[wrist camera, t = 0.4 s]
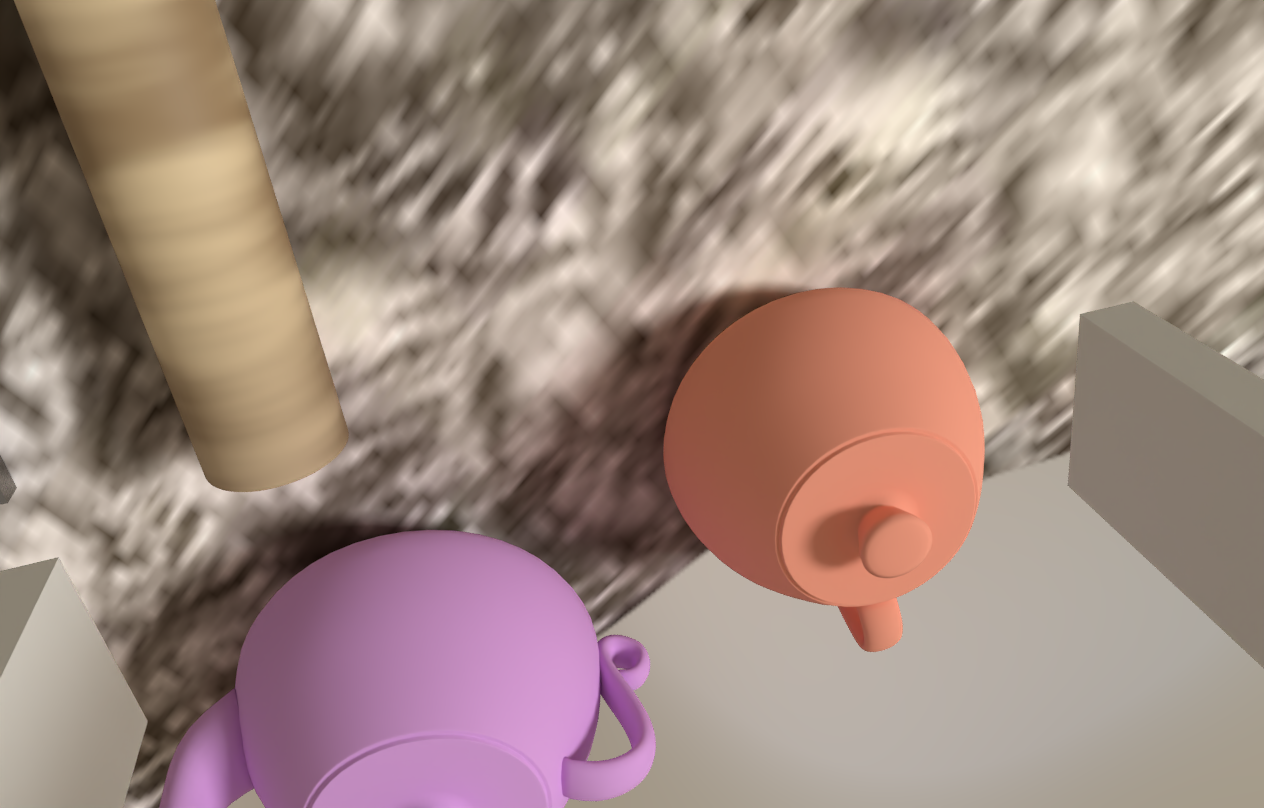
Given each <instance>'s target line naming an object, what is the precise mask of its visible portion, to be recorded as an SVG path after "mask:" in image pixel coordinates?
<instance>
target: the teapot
mask: <svg viewBox="0 0 1264 808" xmlns="http://www.w3.org/2000/svg"><path fill="white" fill-rule="evenodd" d="M617 668H623V669H625V670H618V669H617ZM649 671H650V659H649V656H648V653H647V651H646V649H645V648H644V646H643V645H642V644H641V643H640V642H638V641H636V640H634V639H632V638H629V637H626V636H622V635H609V636H606V637H603V638H602V639H600V640H599V641H598V642H597V638H596V634H595V630H594V627H593V624H592V620H591V618H590V616H589V614H588V612H587V610H586V608H585V606H584V604H583V602H582V601H581V599H580V598H579V597H578V595H577V594H576V593H575V591H574V590H573V588H572V587H571V586H570V585H569V584H568V583H567V582H566V581H565V580H564V579H563V578H562V577H561V576H560V575H559V574H558V573H557V572H556V571H555V570H554V569H552V568H551V567H550V566H548V565H547V564H546V563H544V562H543V561H542V560H540V559H539V558H537V557H536V556H534V555H532V554H530V553H528V552H527V551H525V550H523V549H521V548H519V547H517V546H514V545H512V544H509V543H507V542H504V541H502V540H498V539H495V538H491V537H487V536H483V535H480V534H474V533H467V532H460V531H448V530H421V531H406V532H400V533H394V534H388V535H382V536H378V537H374V538H371V539H367V540H364V541H360V542H357V543H354V544H351V545H349V546H346V547H344V548H341V549H339V550H337V551H334V552H332V553H330V554H328V555H326V556H324V557H323V558H321V559H319V560H317V561H315V562H314V563H312V564H310V565H309V566H307V567H306V568H305V569H303V570H302V571H301V572H299V573H298V574H296V575H295V576H294V577H292V578H291V579H290V580H289V581H288V582H287V583H286V584H285V585H284V586H283V587H282V588H281V589H279V590H278V591H277V592H276V594H275V595H274V596H273V597H272V598H271V600H270V601H269V602H268V603H267V604H266V606H265V607H264V608H263V609H262V611H261V612H260V613H259V614H258V616H257V618H256V619H255V621H254V623H253V624H252V626H251V628H250V630H249V631H248V634H247V636H246V639H245V641H244V644H243V646H242V649H241V653H240V658H239V663H238V667H237V674H236V682H235V688H234V689H232V690H231V691H230V692H229V693H227V694H226V695H225V696H224V697H223V698H221V699H220V700H219V701H218V702H216V703H215V704H214V705H213V706H211V707H210V708H209V709H208V710H206V711H205V712H204V713H203V714H202V715H201V716H200V717H199V718H198V720H197V721H196V722H195V723H194V724H193V725H192V726H191V727H190V728H189V729H188V730H187V732H186V734H185V735H184V737H183V738H182V740H181V741H180V743H179V744H178V746H177V748H176V751H175V753H174V755H173V758H172V760H171V763H170V766H169V769H168V773H167V777H166V781H165V785H164V789H163V793H162V798H161V803H160V807H159V808H227V807H228V806H229V805H230V804H231V803H232V802H234V801H235V800H237V799H238V798H240V797H241V796H242V795H243V794H245V793H247V792H249V791H250V790H252V789H254V788H255V791H256V793H257V795H258V796H259V798H260V800H261V801H262V803H263V805H264V806H265V808H564V807H565V805H566V803H567V801H568V799H569V798H570V799H576V800H582V801H601V800H607V799H610V798H614V797H617V796H620V795H622V794H624V793H626V792H628V791H630V790H631V789H633V788H635V787H636V786H637V785H638V784H639V783H640V782H641V781H642V780H643V779H644V778H645V777H646V775H647V773H648V772H649V770H650V768H651V766H652V763H653V760H654V757H655V748H656V742H655V734H654V729H653V726H652V723H651V720H650V719H649V716H648V714H647V712H646V710H645V709H644V707H643V705H642V703H641V702H640V700H639V699H638V697H637V696H636V694H635V693H634V691H633V690H635V689H637V688H639V687H641V686H642V685H643V683H644V682H645V680H646V679H647V677H648V674H649ZM600 694H601V695H602V697H603V698H604V700H605V701H606V703H607V704H608V706H609V707H610V709H611V710H612V712H613V713H614V714H615V716H616V717H617V719H618V720H619V722H620V723H621V725H622V727H623V728H624V730H625V732H626V734H627V736H628V738H629V740H630V743H631V746H632V749H631V750H629V751H628V752H627V753H625V754H623V755H622V756H619V757H616V758H613V759H609V760H603V761H587V759H588V756H589V754H590V750H591V747H592V743H593V739H594V735H595V731H596V727H597V722H598V716H599V707H600Z"/></svg>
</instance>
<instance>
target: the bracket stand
mask: <svg viewBox="0 0 1264 808" xmlns="http://www.w3.org/2000/svg"><path fill="white" fill-rule="evenodd" d="M16 488H17V487H16V485H15V483H14V481H13V479H12V478H11V476H10V474H9V472H8V470H7V468H6V466H5V464H4V462H3V460H2V458H1V456H0V504H5V503H8V502H9V500H10V498H11V497H12V495H13V493H14V492H15V490H16Z"/></svg>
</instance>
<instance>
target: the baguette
mask: <svg viewBox="0 0 1264 808" xmlns="http://www.w3.org/2000/svg"><path fill="white" fill-rule="evenodd" d="M14 2H15V5H16V7H17V10H18V12H19V15H20V17H21V20H22V22H23V25H24V27H25V29H26V32H27V34H28V37H29V39H30V42H31V44H32V47H33V49H34V52H35V54H36V57H37V59H38V62H39V64H40V67H41V69H42V72H43V74H44V77H45V79H46V82H47V84H48V87H49V89H50V92H51V94H52V97H53V99H54V102H55V104H56V107H57V109H58V112H59V114H60V117H61V119H62V122H63V124H64V127H65V129H66V132H67V134H68V136H69V139H70V141H71V144H72V146H73V149H74V151H75V154H76V156H77V159H78V161H79V164H80V166H81V169H82V171H83V174H84V176H85V179H86V181H87V184H88V186H89V189H90V191H91V194H92V196H93V199H94V201H95V204H96V206H97V209H98V211H99V214H100V216H101V219H102V221H103V224H104V226H105V229H106V231H107V234H108V236H109V238H110V241H111V243H112V246H113V248H114V251H115V253H116V256H117V258H118V261H119V263H120V266H121V268H122V271H123V273H124V276H125V278H126V281H127V283H128V286H129V288H130V291H131V293H132V296H133V298H134V301H135V303H136V306H137V308H138V311H139V313H140V316H141V318H142V321H143V323H144V326H145V328H146V331H147V333H148V336H149V338H150V341H151V343H152V345H153V348H154V350H155V353H156V355H157V358H158V360H159V363H160V365H161V368H162V370H163V373H164V375H165V378H166V380H167V383H168V385H169V388H170V390H171V393H172V395H173V398H174V400H175V403H176V405H177V408H178V410H179V413H180V415H181V418H182V420H183V423H184V425H185V428H186V430H187V433H188V435H189V438H190V440H191V443H192V445H193V447H194V450H195V452H196V455H197V457H198V460H199V462H200V465H201V467H202V470H203V472H204V475H205V477H206V479H207V481H208V482H209V483H210V484H211V485H213V486H215V487H217V488H219V489H222V490H226V491H233V492H253V491H261V490H267V489H272V488H276V487H280V486H283V485H286V484H289V483H292V482H295V481H298V480H300V479H302V478H304V477H307V476H309V475H311V474H313V473H315V472H316V471H318V470H320V469H321V468H323V467H324V466H326V465H327V464H328V463H330V462H331V461H332V460H333V459H335V458H336V457H337V456H338V455H339V454H340V452H341V451H342V450H343V448H344V447H345V445H346V443H347V441H348V437H349V432H348V429H347V425H346V422H345V419H344V416H343V412H342V409H341V406H340V403H339V399H338V396H337V393H336V390H335V387H334V383H333V380H332V377H331V374H330V370H329V367H328V364H327V361H326V357H325V354H324V351H323V348H322V345H321V341H320V338H319V335H318V332H317V328H316V325H315V322H314V319H313V315H312V312H311V309H310V306H309V303H308V299H307V296H306V293H305V290H304V286H303V283H302V280H301V277H300V274H299V270H298V267H297V264H296V261H295V257H294V254H293V251H292V248H291V244H290V241H289V238H288V235H287V232H286V228H285V225H284V222H283V219H282V215H281V212H280V209H279V206H278V202H277V199H276V196H275V193H274V190H273V186H272V183H271V180H270V177H269V173H268V170H267V167H266V164H265V160H264V157H263V154H262V151H261V148H260V144H259V141H258V138H257V135H256V131H255V128H254V125H253V122H252V119H251V115H250V112H249V109H248V106H247V102H246V99H245V96H244V93H243V89H242V86H241V83H240V80H239V77H238V73H237V70H236V67H235V64H234V60H233V57H232V54H231V51H230V47H229V44H228V41H227V38H226V35H225V31H224V28H223V25H222V22H221V18H220V15H219V12H218V9H217V5H216V2H215V0H14Z"/></svg>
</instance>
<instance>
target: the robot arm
mask: <svg viewBox="0 0 1264 808" xmlns="http://www.w3.org/2000/svg"><path fill="white" fill-rule="evenodd" d="M1068 486H1069V487H1070V488H1071V489H1072V490H1073V491H1074V492H1075V493H1076V494H1077V495H1079V496H1080V497H1081V498H1082V499H1083V500H1084V501H1085V502H1086V503H1087V504H1088V505H1089V506H1090V507H1092V509H1094V510H1095V511H1096V512H1097V513H1098V514H1099V515H1100V516H1101V517H1102V518H1103V519H1104V520H1105V521H1107V522H1108V523H1109V524H1110V525H1111V526H1112V527H1113V528H1114V529H1115V530H1116V531H1117V532H1118V533H1119V534H1120V535H1122V536H1123V537H1124V538H1125V539H1126V540H1127V541H1128V542H1129V543H1130V544H1131V545H1132V546H1133V547H1134V548H1135V549H1136V550H1138V551H1139V552H1140V553H1141V554H1142V555H1143V556H1144V557H1145V558H1146V559H1147V560H1148V561H1149V562H1150V563H1152V564H1153V565H1154V566H1155V567H1156V568H1157V569H1158V570H1159V571H1160V572H1161V573H1162V574H1163V575H1164V576H1166V578H1168V579H1169V580H1170V581H1171V582H1172V583H1173V584H1174V585H1175V586H1176V587H1177V588H1178V589H1179V590H1180V591H1182V592H1183V593H1184V594H1185V595H1186V596H1187V597H1188V598H1189V599H1190V600H1191V601H1192V602H1193V603H1194V604H1195V605H1197V606H1198V607H1199V608H1200V609H1201V610H1202V611H1203V612H1204V613H1205V614H1206V615H1207V616H1208V617H1209V618H1210V619H1211V620H1213V621H1214V622H1215V623H1216V624H1217V625H1218V626H1219V627H1220V628H1221V629H1222V630H1223V631H1224V632H1225V633H1226V634H1228V635H1229V636H1230V637H1231V638H1232V639H1233V640H1234V641H1235V642H1236V643H1237V644H1238V645H1239V646H1240V647H1241V648H1243V649H1244V650H1245V651H1246V652H1247V653H1248V654H1249V655H1250V656H1251V657H1252V658H1253V659H1254V660H1255V661H1257V662H1258V663H1259V664H1260V665H1261V666H1262V667H1263V668H1264V380H1263V379H1262V378H1260V377H1258V376H1257V375H1255V374H1253V373H1252V372H1250V371H1248V370H1247V369H1245V368H1243V367H1242V366H1240V365H1238V364H1237V363H1235V362H1233V361H1232V360H1230V359H1228V358H1227V357H1225V356H1223V355H1222V354H1220V353H1218V352H1217V351H1215V350H1213V349H1212V348H1210V347H1208V346H1207V345H1205V344H1203V343H1202V342H1200V341H1198V340H1197V339H1195V338H1193V337H1192V336H1190V335H1188V334H1187V333H1185V332H1183V331H1182V330H1180V329H1178V328H1177V327H1175V326H1173V325H1172V324H1170V323H1168V322H1167V321H1165V320H1163V319H1162V318H1160V317H1158V316H1157V315H1155V314H1153V313H1152V312H1150V311H1148V310H1147V309H1145V308H1143V307H1142V306H1140V305H1138V304H1137V303H1135V302H1129V303H1125V304H1121V305H1117V306H1113V307H1108V308H1104V309H1100V310H1096V311H1092V312H1087V313H1083V314H1080V322H1079V336H1078V350H1077V365H1076V379H1075V393H1074V407H1073V421H1072V435H1071V449H1070V463H1069V477H1068ZM147 722H148V721H147V719H146V717H145V715H144V713H143V711H142V710H141V708H140V706H139V704H138V702H137V700H136V699H135V697H134V695H133V693H132V691H131V689H130V688H129V686H128V684H127V682H126V680H125V678H124V676H123V675H122V673H121V671H120V669H119V667H118V665H117V664H116V662H115V660H114V658H113V656H112V654H111V653H110V651H109V649H108V647H107V645H106V643H105V642H104V640H103V638H102V636H101V634H100V632H99V631H98V629H97V627H96V625H95V623H94V621H93V620H92V618H91V616H90V614H89V612H88V610H87V609H86V607H85V605H84V603H83V601H82V599H81V597H80V596H79V594H78V592H77V590H76V588H75V586H74V585H73V583H72V581H71V579H70V577H69V575H68V574H67V572H66V570H65V568H64V566H63V564H62V563H61V561H60V559H59V557H58V558H54V559H50V560H45V561H41V562H37V563H33V564H29V565H24V566H20V567H16V568H12V569H8V570H3V571H0V808H123V805H124V802H125V799H126V795H127V792H128V788H129V785H130V781H131V778H132V774H133V771H134V767H135V764H136V760H137V757H138V753H139V750H140V746H141V743H142V740H143V736H144V733H145V729H146V726H147Z"/></svg>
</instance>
